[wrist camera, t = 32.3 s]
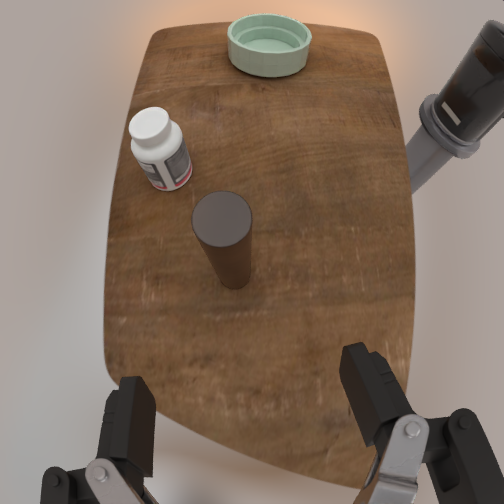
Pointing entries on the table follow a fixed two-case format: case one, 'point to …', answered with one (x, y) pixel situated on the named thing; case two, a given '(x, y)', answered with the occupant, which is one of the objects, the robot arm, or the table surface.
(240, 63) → the bowl
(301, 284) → the table surface
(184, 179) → the pill bottle
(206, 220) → the dark cylinder
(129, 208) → the table surface
